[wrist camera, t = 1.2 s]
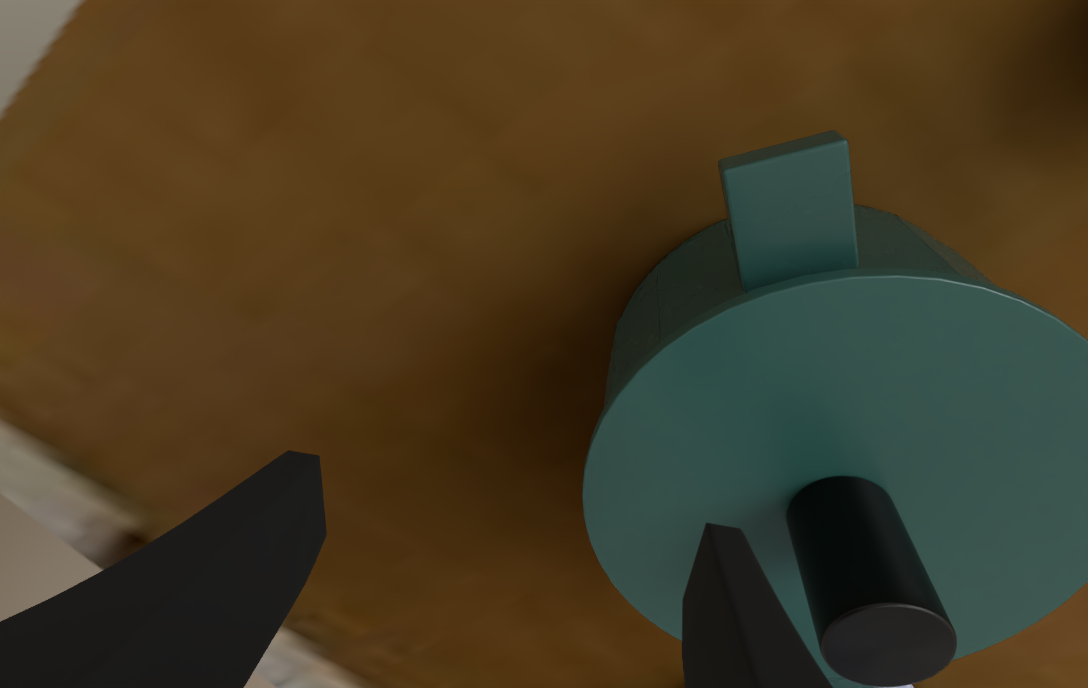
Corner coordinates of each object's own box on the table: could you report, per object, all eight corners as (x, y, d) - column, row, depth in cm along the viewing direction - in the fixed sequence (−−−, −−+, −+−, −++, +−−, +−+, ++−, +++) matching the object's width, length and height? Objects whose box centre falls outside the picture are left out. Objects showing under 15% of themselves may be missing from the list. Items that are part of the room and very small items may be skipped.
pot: (987, 44, 16) (1151, 72, 11) (985, 543, 23) (1082, 702, 18) (544, 166, 19) (506, 235, 14) (665, 575, 26) (670, 721, 21)
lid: (1141, 190, 12) (1390, 292, 8) (1092, 627, 17) (1228, 822, 13) (526, 321, 15) (483, 442, 11) (642, 658, 20) (641, 824, 16)
